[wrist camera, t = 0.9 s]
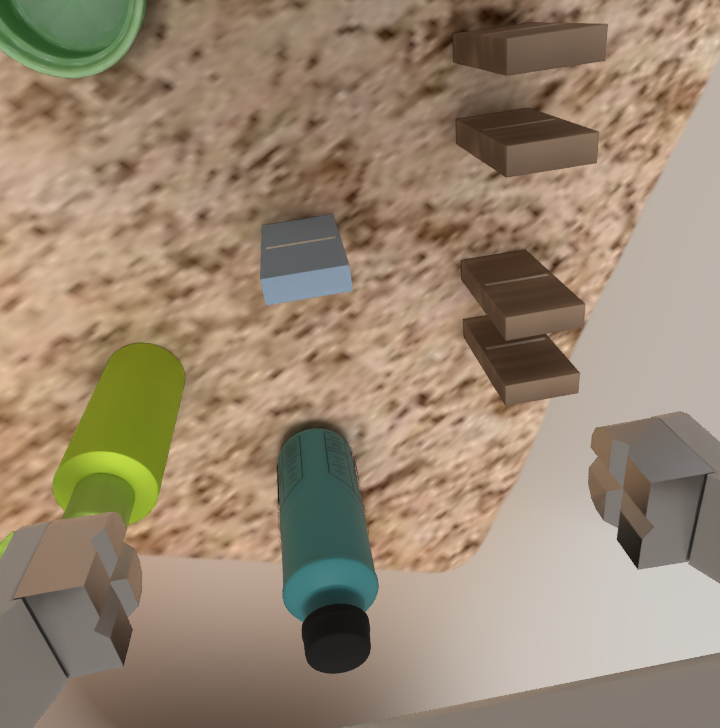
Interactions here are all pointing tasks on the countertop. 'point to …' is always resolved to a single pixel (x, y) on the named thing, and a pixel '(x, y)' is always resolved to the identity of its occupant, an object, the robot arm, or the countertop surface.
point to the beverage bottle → (325, 549)
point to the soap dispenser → (122, 438)
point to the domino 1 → (303, 260)
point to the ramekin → (69, 34)
